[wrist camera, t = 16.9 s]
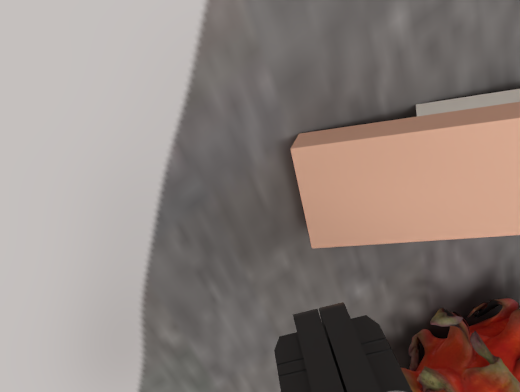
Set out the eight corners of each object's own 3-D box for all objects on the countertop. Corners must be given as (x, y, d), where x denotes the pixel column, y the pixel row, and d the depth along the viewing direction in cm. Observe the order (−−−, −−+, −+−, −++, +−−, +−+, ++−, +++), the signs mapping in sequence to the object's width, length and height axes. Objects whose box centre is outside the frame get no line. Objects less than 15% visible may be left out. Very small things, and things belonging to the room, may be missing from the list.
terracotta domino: (298, 133, 23) (542, 98, 19) (318, 227, 25) (542, 209, 21) (290, 148, 21) (555, 112, 18) (311, 248, 23) (555, 232, 20)
